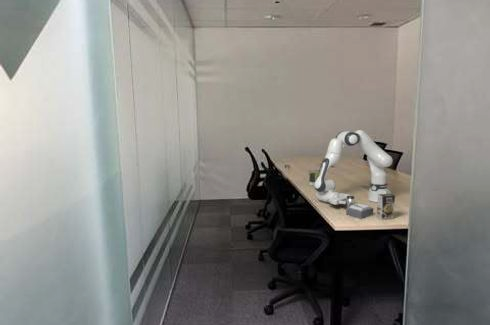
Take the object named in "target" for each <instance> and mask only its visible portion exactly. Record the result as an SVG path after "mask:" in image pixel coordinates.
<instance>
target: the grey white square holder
mask: <svg viewBox="0 0 490 325" xmlns="http://www.w3.org/2000/svg"><path fill="white" fill-rule="evenodd" d="M345 213H346V214H345V215H346V216H348V215H349V217H353V218H356V219H358V220H359V219H360V220H363V219H366V218H369V217H371V216H373V215H374V208H373V207H370V205H366V204H362V203H354V205H351V206H350V207H348V208H347V207H346V209H345Z"/></svg>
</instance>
